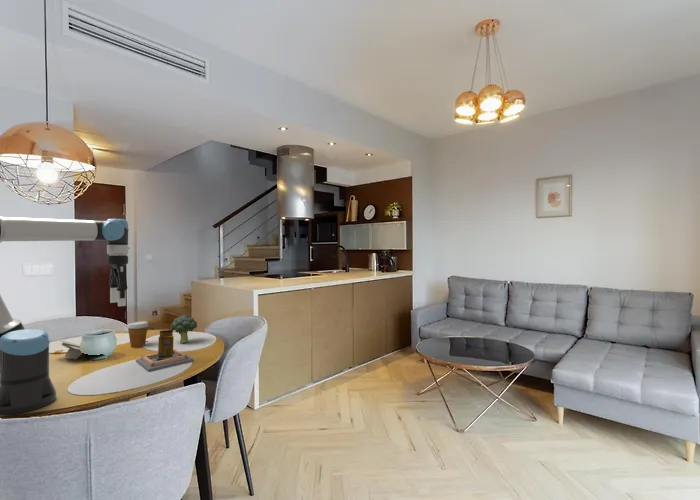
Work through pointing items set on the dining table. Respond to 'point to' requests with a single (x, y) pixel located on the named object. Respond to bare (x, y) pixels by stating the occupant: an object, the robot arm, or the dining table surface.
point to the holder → (163, 361)
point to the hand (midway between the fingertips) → (117, 304)
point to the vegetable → (183, 326)
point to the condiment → (165, 344)
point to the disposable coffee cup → (137, 333)
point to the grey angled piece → (72, 350)
